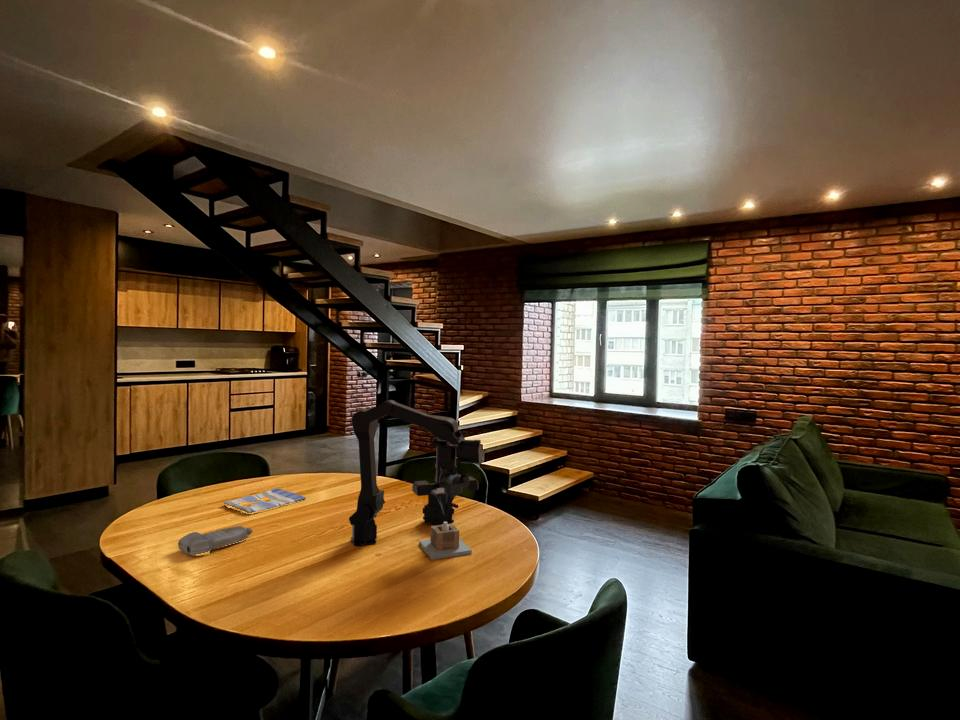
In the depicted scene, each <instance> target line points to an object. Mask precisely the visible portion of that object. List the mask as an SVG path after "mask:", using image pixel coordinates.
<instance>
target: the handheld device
mask: <svg viewBox="0 0 960 720" xmlns="http://www.w3.org/2000/svg"><path fill="white" fill-rule="evenodd" d="M253 532H254V530H253V529H252V528H251V527H250V528H249V527H244V526H241V525H237V526H231V527H226V528H221V529H218V530H213V531H209V532H207V533H203V534H202V533H199V532H197V531H195V532H191V533H188V534H186V535H184V536H182V537H181V538H180V539H179V540H178V542H177V545H178V546H177V547H178V550H179V549H180V550H179V551H181V552H183V553H185V554H187V555H188V556H191V555H196V554H201V553H205V552H208V551H211V550H212V549H213V550H216V549H219V548H218V547H221V548H223V547H222V546H225V545H229V544H233V543H236V542H239V541H242V540H244V539H246V538H247V539H248V536H249V535H251V534H252V533H253ZM247 535H248V536H247ZM225 547H226V546H225ZM215 548H216V549H215ZM213 550H212V551H213ZM212 551H211V552H212Z"/></svg>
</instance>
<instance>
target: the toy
mask: <svg viewBox="0 0 960 720" xmlns="http://www.w3.org/2000/svg"><path fill="white" fill-rule="evenodd" d="M427 499H428V500H427V504H425V505H424V507H422V514H423V516H422V520H423V521H424V523H425V524H428V525H430V526H436V525H442V524H443V522H447V524H451V523H452V524H454V523H455V519H453V517H454V516H453V515H455V509H459V504H457V503H453V502H452V503H451V506H450V509H449V512H448V514H447V515H444V514H443V512H442V509H441V506H440V504H439V501H438V499H437V497H436V496H435V495H434V494H433V493H432V492H431V493H430V494H429V495H427Z"/></svg>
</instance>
